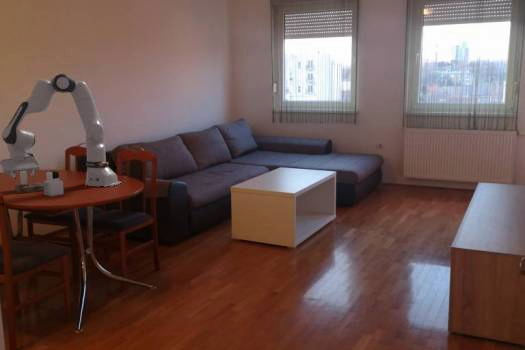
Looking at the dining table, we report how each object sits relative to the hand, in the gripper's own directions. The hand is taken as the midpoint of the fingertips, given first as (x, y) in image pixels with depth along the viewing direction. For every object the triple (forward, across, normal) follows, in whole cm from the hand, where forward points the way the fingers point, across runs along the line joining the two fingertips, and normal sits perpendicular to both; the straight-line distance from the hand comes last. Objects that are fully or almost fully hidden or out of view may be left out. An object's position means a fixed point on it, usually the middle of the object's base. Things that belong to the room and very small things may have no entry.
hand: (23, 177), depth 306 cm
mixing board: (+5, +6, +6) cm, 10 cm away
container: (+18, +12, -7) cm, 23 cm away
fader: (+3, 0, +4) cm, 5 cm away
